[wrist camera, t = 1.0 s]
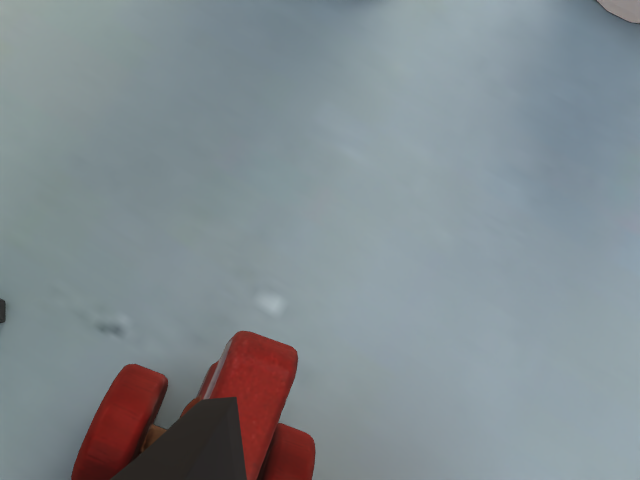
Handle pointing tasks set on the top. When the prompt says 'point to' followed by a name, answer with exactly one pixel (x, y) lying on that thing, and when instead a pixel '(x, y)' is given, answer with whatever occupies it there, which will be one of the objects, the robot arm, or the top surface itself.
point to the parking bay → (2, 311)
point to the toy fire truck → (220, 381)
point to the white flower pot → (623, 9)
